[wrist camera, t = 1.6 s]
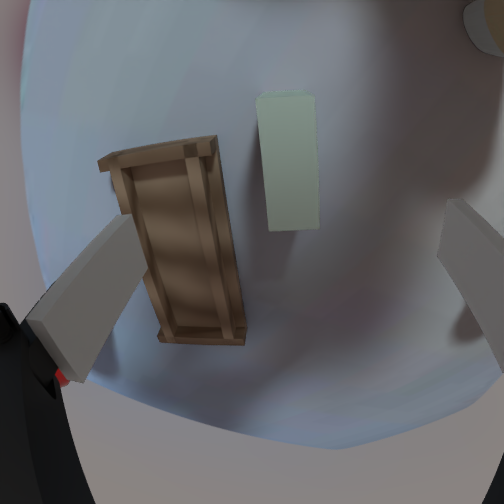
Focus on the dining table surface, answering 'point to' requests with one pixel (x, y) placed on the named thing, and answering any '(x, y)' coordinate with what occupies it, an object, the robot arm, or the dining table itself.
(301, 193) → the pale green block
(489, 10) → the coffee cup
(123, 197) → the wooden tray
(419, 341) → the dining table surface
